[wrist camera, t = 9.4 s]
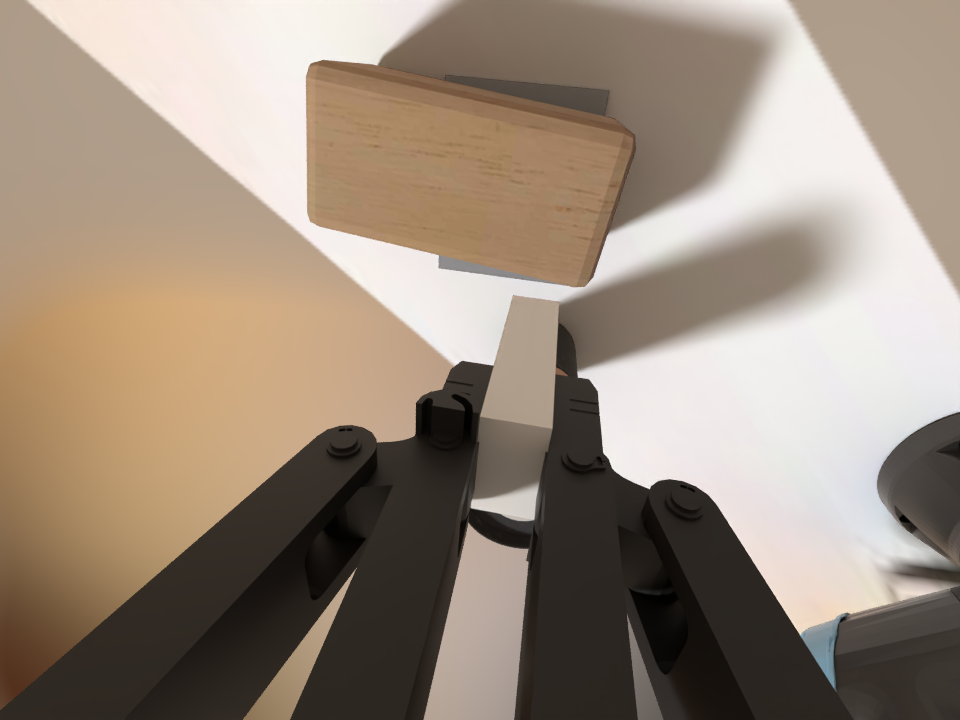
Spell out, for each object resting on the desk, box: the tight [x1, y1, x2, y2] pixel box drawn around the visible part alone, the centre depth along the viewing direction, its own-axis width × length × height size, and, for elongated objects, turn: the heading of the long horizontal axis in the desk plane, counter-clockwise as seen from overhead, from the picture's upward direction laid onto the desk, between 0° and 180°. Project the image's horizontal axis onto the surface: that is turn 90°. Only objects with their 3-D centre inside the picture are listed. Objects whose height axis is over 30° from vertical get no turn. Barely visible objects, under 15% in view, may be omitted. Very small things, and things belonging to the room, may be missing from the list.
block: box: [306, 60, 636, 287], centre depth 33 cm, size 10×10×20 cm
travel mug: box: [468, 323, 578, 549], centre depth 37 cm, size 8×8×20 cm
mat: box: [439, 75, 609, 286], centre depth 38 cm, size 12×15×1 cm
